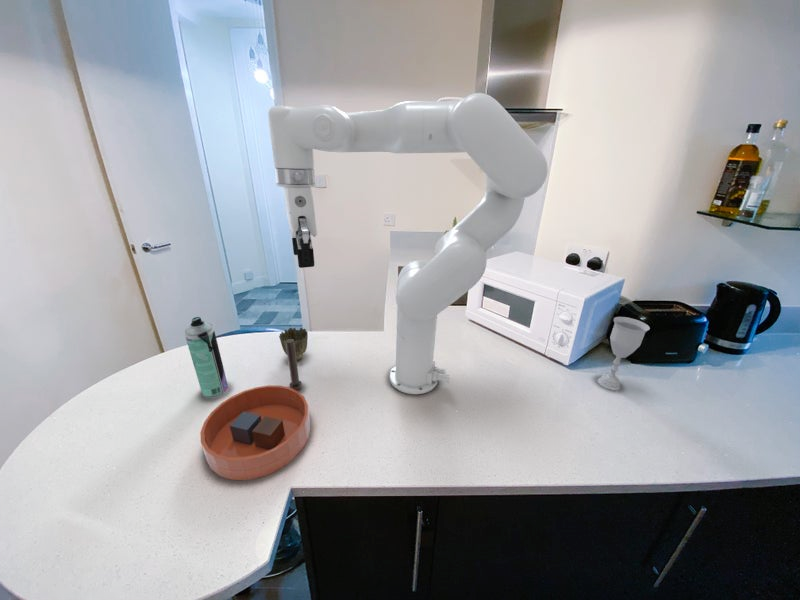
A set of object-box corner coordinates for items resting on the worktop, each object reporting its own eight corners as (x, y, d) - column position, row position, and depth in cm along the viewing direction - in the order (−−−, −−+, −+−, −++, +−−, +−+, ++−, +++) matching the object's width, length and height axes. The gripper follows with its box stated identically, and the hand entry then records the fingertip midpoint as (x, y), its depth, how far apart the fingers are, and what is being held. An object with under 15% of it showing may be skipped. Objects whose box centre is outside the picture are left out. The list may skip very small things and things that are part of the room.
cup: (313, 351, 93) (311, 327, 89) (304, 366, 86) (301, 341, 83) (289, 349, 93) (286, 326, 90) (278, 364, 87) (274, 339, 83)
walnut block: (285, 434, 64) (282, 420, 62) (273, 450, 61) (270, 435, 59) (267, 430, 65) (264, 416, 63) (255, 446, 61) (251, 431, 60)
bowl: (326, 413, 70) (324, 394, 68) (275, 494, 53) (270, 472, 51) (251, 397, 75) (247, 378, 72) (182, 467, 57) (174, 446, 55)
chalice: (589, 383, 83) (610, 323, 75) (596, 372, 87) (616, 314, 80) (622, 396, 78) (647, 334, 71) (627, 384, 83) (651, 324, 75)
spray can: (233, 387, 78) (216, 315, 69) (215, 402, 73) (194, 326, 65) (216, 382, 79) (197, 311, 71) (197, 396, 74) (174, 321, 66)
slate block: (263, 429, 65) (260, 415, 64) (250, 445, 62) (247, 430, 60) (246, 425, 66) (243, 411, 64) (233, 440, 62) (229, 425, 61)
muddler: (304, 386, 78) (298, 338, 73) (298, 394, 76) (291, 344, 70) (294, 384, 79) (287, 336, 73) (288, 392, 77) (280, 343, 71)
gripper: (322, 181, 57) (328, 270, 64) (308, 175, 72) (314, 249, 79) (278, 181, 55) (289, 274, 62) (273, 175, 69) (283, 251, 76)
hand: (303, 260), depth 70 cm, fingers open, 9 cm apart
